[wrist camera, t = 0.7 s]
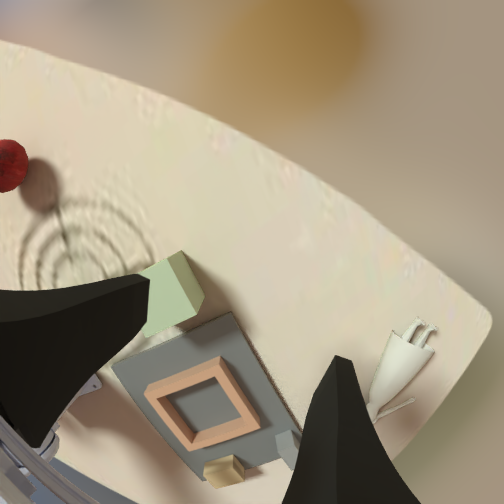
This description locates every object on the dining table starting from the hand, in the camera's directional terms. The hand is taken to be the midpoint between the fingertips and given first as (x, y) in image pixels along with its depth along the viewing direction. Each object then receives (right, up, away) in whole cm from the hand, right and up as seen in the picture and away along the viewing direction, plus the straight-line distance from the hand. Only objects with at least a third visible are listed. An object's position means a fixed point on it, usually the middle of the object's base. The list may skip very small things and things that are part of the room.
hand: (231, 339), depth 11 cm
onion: (-26, +13, +17) cm, 34 cm away
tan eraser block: (-3, -23, +22) cm, 32 cm away
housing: (-4, -15, +21) cm, 26 cm away
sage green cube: (-7, 0, +19) cm, 20 cm away
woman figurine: (+16, -12, +22) cm, 30 cm away
